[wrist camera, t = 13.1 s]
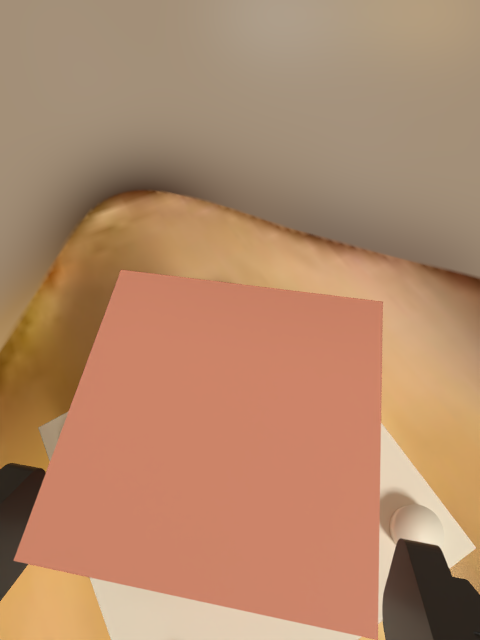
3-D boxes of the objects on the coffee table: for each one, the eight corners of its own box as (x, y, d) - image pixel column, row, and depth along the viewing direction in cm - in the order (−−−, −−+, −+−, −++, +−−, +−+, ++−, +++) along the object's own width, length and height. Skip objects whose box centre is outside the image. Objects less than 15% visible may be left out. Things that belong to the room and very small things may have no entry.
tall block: (193, 409, 17) (121, 269, 8) (316, 429, 16) (382, 301, 7) (162, 547, 15) (12, 561, 6) (303, 575, 14) (378, 640, 5)
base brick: (280, 340, 24) (285, 287, 19) (425, 545, 19) (485, 548, 14) (84, 450, 21) (29, 423, 16) (189, 721, 16) (157, 804, 11)
